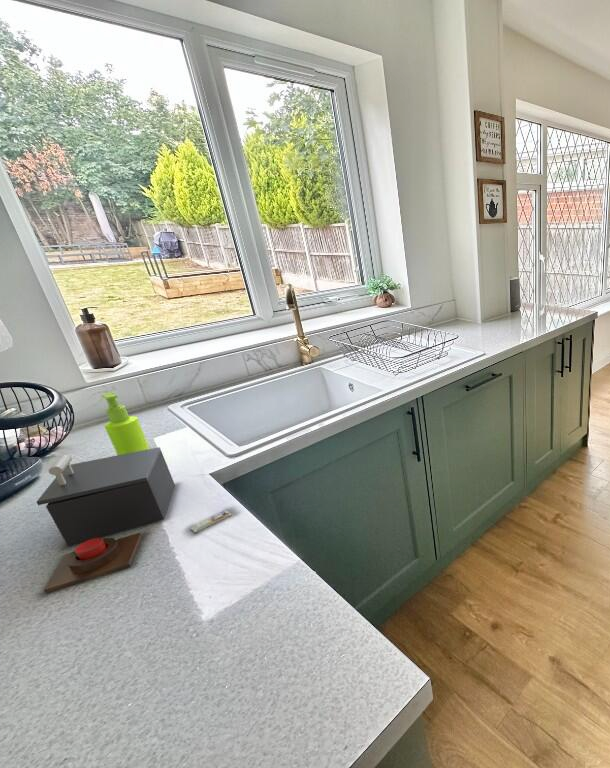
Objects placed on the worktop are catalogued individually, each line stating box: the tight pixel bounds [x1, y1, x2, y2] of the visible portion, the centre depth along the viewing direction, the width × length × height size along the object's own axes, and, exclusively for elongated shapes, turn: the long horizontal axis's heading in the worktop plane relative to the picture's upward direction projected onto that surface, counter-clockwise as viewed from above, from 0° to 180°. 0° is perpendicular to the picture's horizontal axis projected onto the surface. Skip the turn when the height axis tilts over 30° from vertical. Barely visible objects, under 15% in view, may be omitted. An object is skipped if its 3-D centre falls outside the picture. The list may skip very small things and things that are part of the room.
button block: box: [43, 532, 143, 595], centre depth 74 cm, size 11×9×3 cm
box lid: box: [36, 446, 162, 506], centre depth 82 cm, size 15×14×5 cm
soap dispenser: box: [100, 391, 151, 456], centre depth 100 cm, size 6×7×20 cm
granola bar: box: [189, 510, 232, 533], centre depth 84 cm, size 7×2×1 cm, turn 142°
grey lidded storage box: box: [45, 450, 176, 548], centre depth 85 cm, size 15×14×10 cm
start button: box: [74, 537, 106, 560], centre depth 73 cm, size 4×4×2 cm
